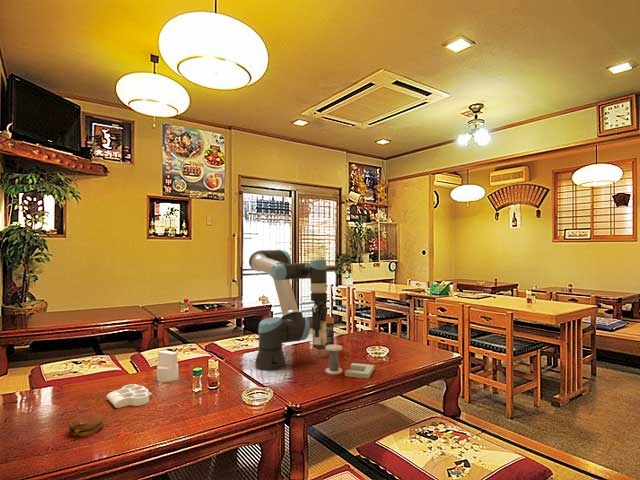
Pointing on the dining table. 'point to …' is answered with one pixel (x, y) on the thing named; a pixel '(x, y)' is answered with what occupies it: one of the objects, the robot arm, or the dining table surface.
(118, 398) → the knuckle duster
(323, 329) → the peg
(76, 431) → the burger
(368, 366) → the notched board
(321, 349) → the whiskey bottle
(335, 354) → the door knob
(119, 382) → the dining table surface
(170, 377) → the base with upright slab
